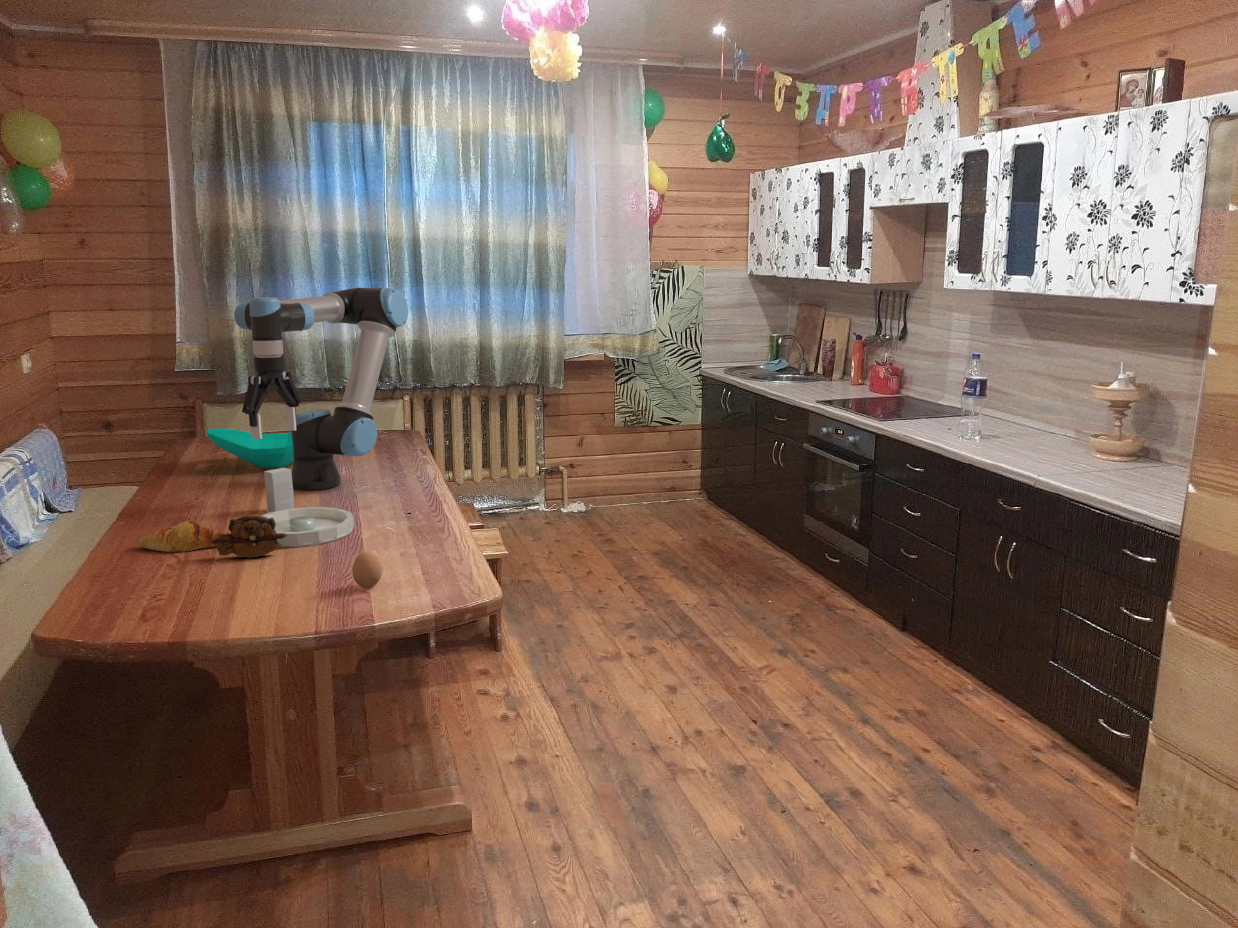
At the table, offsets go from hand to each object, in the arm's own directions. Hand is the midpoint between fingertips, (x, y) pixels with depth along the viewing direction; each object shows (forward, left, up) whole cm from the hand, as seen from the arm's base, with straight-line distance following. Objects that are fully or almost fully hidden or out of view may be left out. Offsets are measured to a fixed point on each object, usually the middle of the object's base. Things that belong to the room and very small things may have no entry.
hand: (274, 434), depth 253 cm
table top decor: (-47, -43, -22) cm, 68 cm away
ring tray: (+14, +19, -22) cm, 32 cm away
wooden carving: (+35, +21, -22) cm, 46 cm away
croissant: (+34, 0, -22) cm, 41 cm away
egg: (+43, +59, -22) cm, 76 cm away
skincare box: (0, 0, -22) cm, 22 cm away
